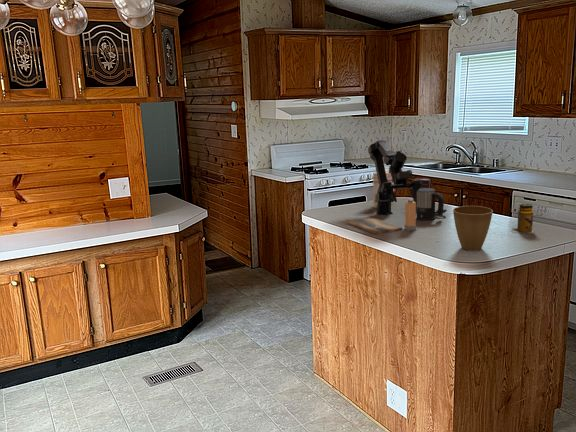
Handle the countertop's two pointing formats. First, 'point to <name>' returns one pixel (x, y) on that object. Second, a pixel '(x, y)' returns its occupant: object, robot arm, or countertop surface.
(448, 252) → the countertop surface
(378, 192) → the robot arm
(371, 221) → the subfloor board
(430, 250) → the countertop surface
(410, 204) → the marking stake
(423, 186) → the supplement box
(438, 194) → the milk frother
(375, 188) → the coffeecake box
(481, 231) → the plant pot
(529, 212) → the condiment
